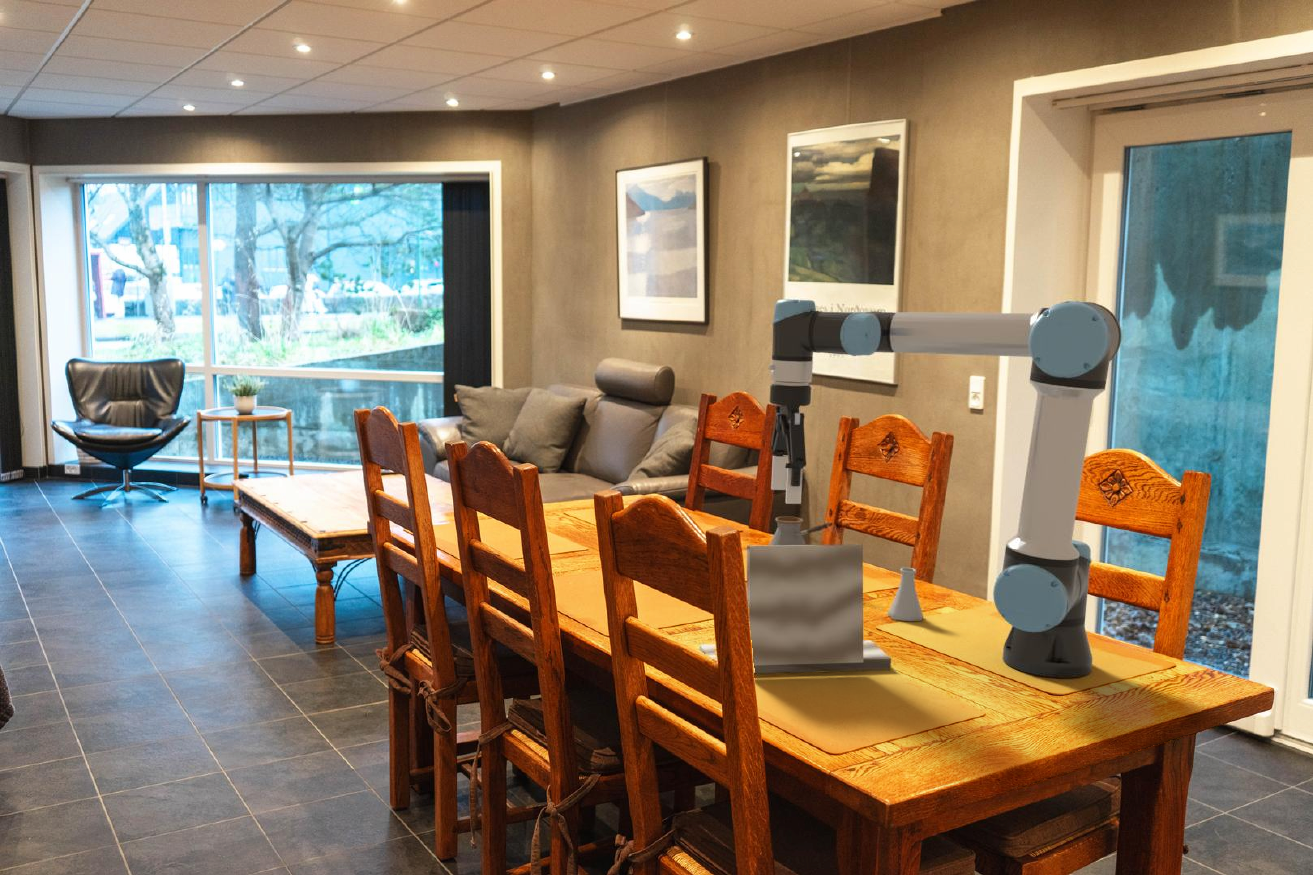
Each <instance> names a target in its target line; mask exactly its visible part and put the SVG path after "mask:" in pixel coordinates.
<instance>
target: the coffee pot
mask: <svg viewBox="0 0 1313 875" xmlns="http://www.w3.org/2000/svg"><path fill="white" fill-rule="evenodd" d="M775 522H776V523H777V528H776V530H775V533H774V534H773V537H772V538H771V540H770V543H769V545H807V544H806V541H805V539H804V535H807V534H811V533H815V532H820V531H822V530H824V529H826V530H827V531H829V532H830V533H834V532H835V531H836V529H837V527H836V525H835V524H834V523H833V522H828V523H826V522H825V523H823V524H818V525H815V526H813V527H810V528H807V529H806V530H801V525H802V523H804V519H803V518H800V517H797V516H778V517H775ZM832 526H834V530H832V531H831V530H830V529H829V528H830V527H832Z"/></svg>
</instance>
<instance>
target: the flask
mask: <svg viewBox="0 0 1313 875" xmlns="http://www.w3.org/2000/svg"><path fill="white" fill-rule="evenodd" d="M899 571H900V574H901V575H900V576H901V577H900V582H899V585H898V589H897V591H896V594H895V596H894V599H893V601H892V603H891V605H890V607H889V610H888V613H887V614H886V616H888V617H890V618H891V619H892V620H896V621H904V622H921V621H922V620H923V618H924V614H923V611H922V608H921V605H920V601H919V597H918V593H917V590H916V584H915V575H916V573H917V569H915V568H913V567H901V568H900V569H899Z"/></svg>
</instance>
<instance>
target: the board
mask: <svg viewBox="0 0 1313 875" xmlns="http://www.w3.org/2000/svg"><path fill="white" fill-rule="evenodd" d="M715 644H716V643H714V644H713V643H712V644H711V643H709V644H705V643H704V644H699V652H700V651H701V652H702V653H704V654H706V655H709V656H710V657H711V658H712V659H716V655H715ZM891 663H892V658H891V657H890V656H889V655H888V654H886V652H884V650H882V649H881V648H880V647H879V646H878V645H877V644H876V643H875V642H873V641H872V640H870V639H869V640H866V639H865V640H864V639H863V662H859V663H823V664H788V665H754V668H755V675H756V674H779V673H778V672H790V673H815V672H814V671H824V672H853V671H855V670H858V671H879V670H880V671H882V670H883V671H884V670H885V671H886V670H888V671H889V670H891V669H892V668H891V666H892V665H891ZM849 670H851V671H849ZM812 671H813V672H812Z"/></svg>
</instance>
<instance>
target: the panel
mask: <svg viewBox="0 0 1313 875" xmlns="http://www.w3.org/2000/svg"><path fill="white" fill-rule="evenodd" d="M747 599H748V607H749V622H750V631H751V640H752V648H753V663H754V665H788V664H823V663H859V662H863V641H864V545H863V544H806V545H770V544H769V545H746V600H747Z"/></svg>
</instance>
